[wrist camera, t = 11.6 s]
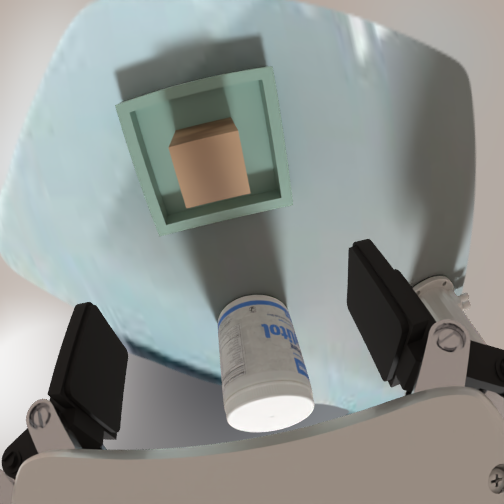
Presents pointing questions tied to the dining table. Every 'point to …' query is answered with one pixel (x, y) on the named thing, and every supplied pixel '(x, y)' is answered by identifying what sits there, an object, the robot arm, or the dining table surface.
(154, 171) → the rest tray
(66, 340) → the robot arm
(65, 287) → the dining table surface
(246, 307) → the supplement tub
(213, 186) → the walnut block
